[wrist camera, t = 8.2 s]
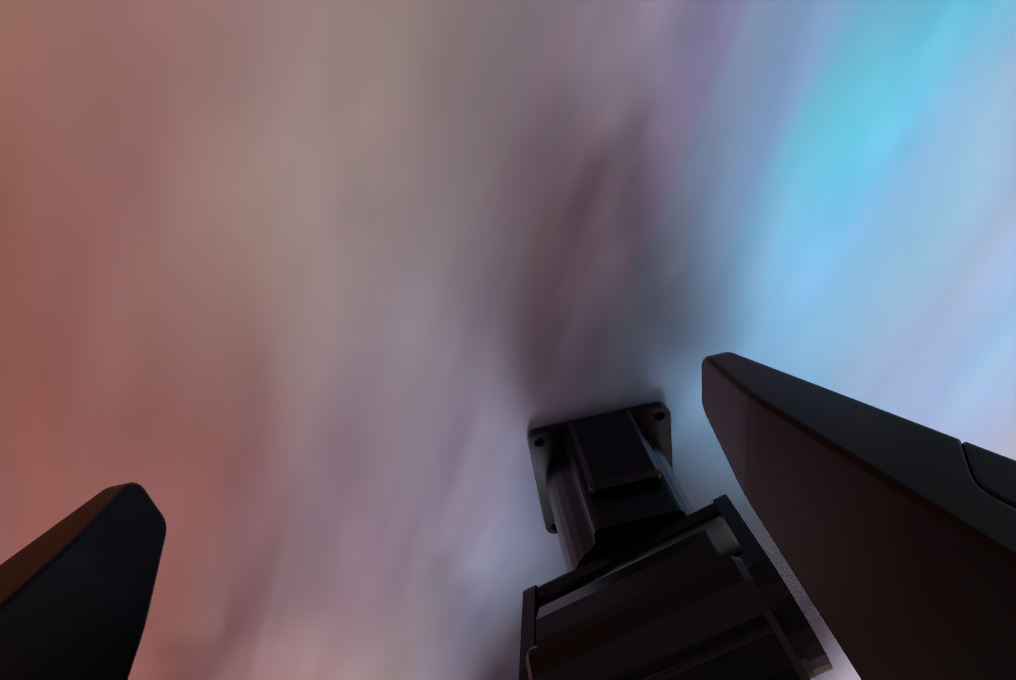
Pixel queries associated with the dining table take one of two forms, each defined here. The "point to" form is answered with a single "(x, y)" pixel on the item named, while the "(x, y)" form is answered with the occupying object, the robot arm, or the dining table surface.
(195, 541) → the dining table surface
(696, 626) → the robot arm
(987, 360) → the dining table surface
